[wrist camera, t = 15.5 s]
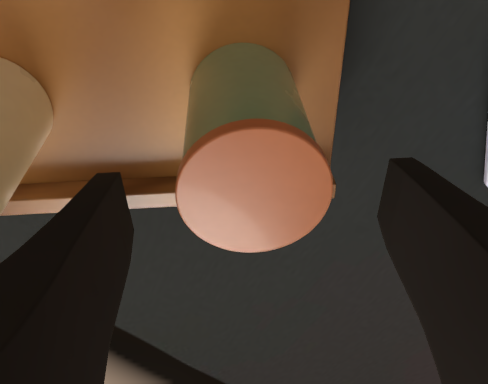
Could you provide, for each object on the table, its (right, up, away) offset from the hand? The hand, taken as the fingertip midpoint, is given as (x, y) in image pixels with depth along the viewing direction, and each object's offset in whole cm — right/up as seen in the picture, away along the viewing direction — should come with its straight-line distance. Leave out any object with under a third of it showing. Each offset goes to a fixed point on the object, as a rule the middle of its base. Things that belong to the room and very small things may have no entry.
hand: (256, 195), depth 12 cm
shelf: (-5, +6, +8) cm, 11 cm away
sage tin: (0, +4, +5) cm, 6 cm away
